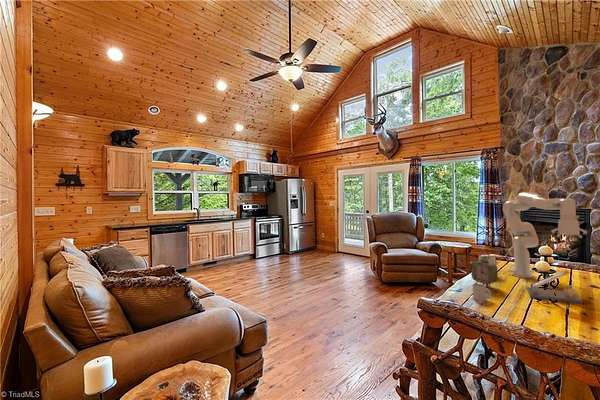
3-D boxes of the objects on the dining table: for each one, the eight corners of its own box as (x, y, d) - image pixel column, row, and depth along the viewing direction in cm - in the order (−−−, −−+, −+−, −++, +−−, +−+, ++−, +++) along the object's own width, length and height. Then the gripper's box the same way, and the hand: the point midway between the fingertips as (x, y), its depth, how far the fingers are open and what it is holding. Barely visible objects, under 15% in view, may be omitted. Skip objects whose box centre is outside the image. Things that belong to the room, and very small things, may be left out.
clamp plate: (530, 297, 182) (530, 286, 182) (527, 289, 195) (526, 279, 195) (582, 304, 169) (581, 292, 169) (574, 295, 182) (574, 284, 182)
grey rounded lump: (474, 296, 188) (473, 283, 188) (492, 299, 182) (491, 285, 182) (471, 299, 183) (471, 286, 183) (490, 303, 176) (490, 288, 176)
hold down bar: (534, 288, 185) (532, 286, 186) (533, 286, 189) (531, 284, 189) (570, 273, 175) (568, 270, 176) (568, 271, 179) (566, 268, 180)
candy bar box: (493, 274, 232) (493, 254, 232) (497, 276, 227) (496, 255, 227) (478, 274, 234) (478, 254, 234) (481, 276, 229) (481, 255, 229)
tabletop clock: (471, 284, 211) (470, 251, 210) (479, 282, 214) (478, 249, 214) (491, 290, 197) (490, 254, 197) (499, 288, 201) (498, 253, 200)
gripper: (585, 217, 185) (586, 243, 185) (550, 217, 196) (551, 241, 196) (587, 217, 180) (588, 245, 180) (550, 217, 190) (552, 243, 190)
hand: (569, 243), depth 188 cm, fingers open, 9 cm apart
